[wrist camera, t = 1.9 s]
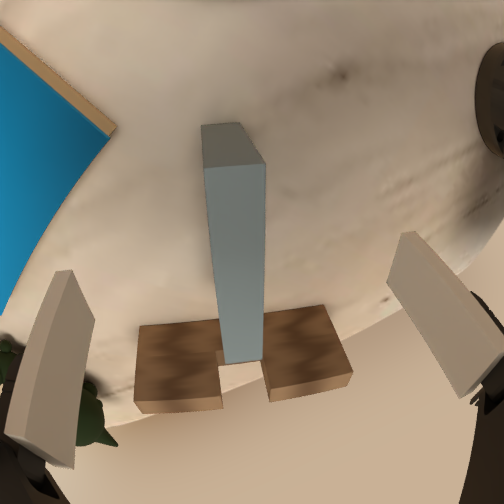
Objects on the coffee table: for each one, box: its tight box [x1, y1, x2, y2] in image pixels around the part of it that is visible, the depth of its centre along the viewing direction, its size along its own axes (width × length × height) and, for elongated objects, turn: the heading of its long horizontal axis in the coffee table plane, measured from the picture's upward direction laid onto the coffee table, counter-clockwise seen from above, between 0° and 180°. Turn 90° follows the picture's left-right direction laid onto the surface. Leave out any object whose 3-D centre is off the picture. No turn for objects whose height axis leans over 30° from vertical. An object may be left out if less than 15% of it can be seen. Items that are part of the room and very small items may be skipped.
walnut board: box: [134, 305, 353, 414], centre depth 32 cm, size 22×3×10 cm, turn 91°
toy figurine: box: [0, 340, 118, 447], centre depth 29 cm, size 9×19×25 cm
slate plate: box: [201, 122, 266, 364], centre depth 23 cm, size 16×3×10 cm, turn 1°
